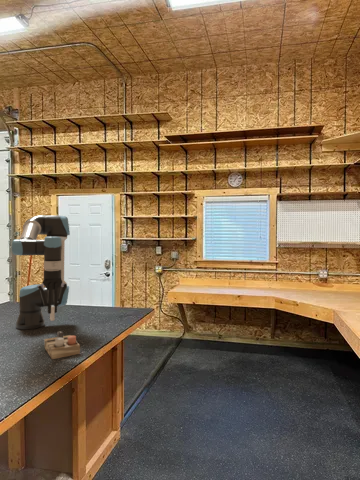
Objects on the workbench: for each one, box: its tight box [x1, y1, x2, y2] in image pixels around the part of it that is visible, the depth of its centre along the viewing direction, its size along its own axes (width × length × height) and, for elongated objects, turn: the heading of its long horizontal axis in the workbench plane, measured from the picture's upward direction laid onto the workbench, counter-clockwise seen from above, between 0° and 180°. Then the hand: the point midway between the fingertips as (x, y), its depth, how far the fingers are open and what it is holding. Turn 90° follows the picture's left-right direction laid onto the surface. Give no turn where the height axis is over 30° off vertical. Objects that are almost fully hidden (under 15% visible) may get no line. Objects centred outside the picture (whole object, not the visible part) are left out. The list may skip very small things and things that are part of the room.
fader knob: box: [56, 330, 64, 338], centre depth 150 cm, size 3×2×3 cm
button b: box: [55, 338, 64, 347], centre depth 143 cm, size 4×4×3 cm
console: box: [43, 334, 81, 360], centre depth 147 cm, size 16×12×4 cm
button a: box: [68, 335, 77, 345], centre depth 146 cm, size 4×4×3 cm
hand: (52, 319), depth 148 cm, fingers closed
